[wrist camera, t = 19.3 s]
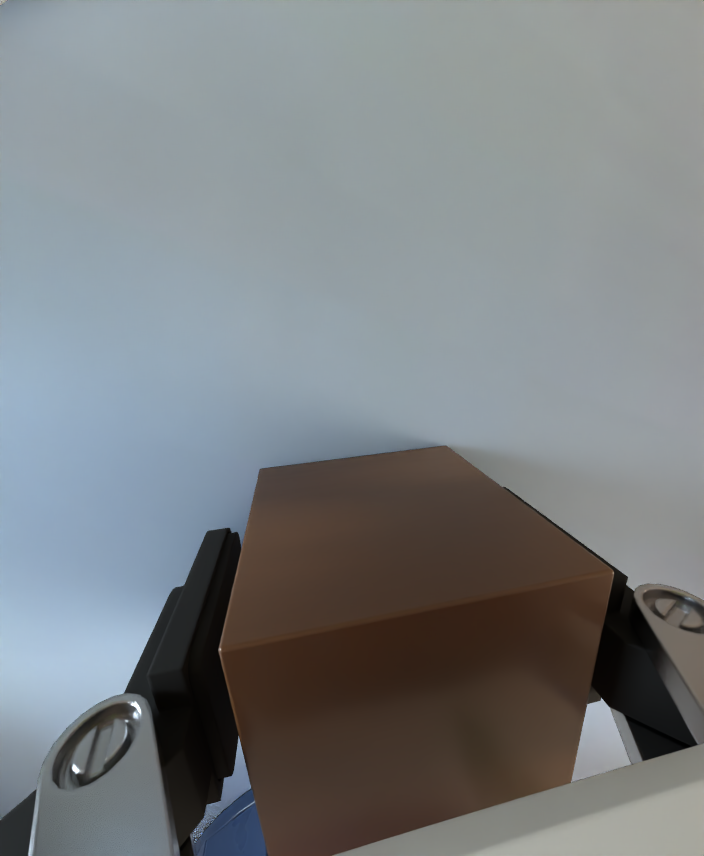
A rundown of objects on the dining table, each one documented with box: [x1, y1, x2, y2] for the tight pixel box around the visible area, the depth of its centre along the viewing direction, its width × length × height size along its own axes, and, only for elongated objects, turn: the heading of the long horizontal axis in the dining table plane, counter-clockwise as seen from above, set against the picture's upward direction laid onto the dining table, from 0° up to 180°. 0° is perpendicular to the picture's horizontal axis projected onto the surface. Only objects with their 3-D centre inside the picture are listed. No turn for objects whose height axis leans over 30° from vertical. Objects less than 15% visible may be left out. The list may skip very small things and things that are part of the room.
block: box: [218, 446, 614, 856], centre depth 8 cm, size 6×6×6 cm
